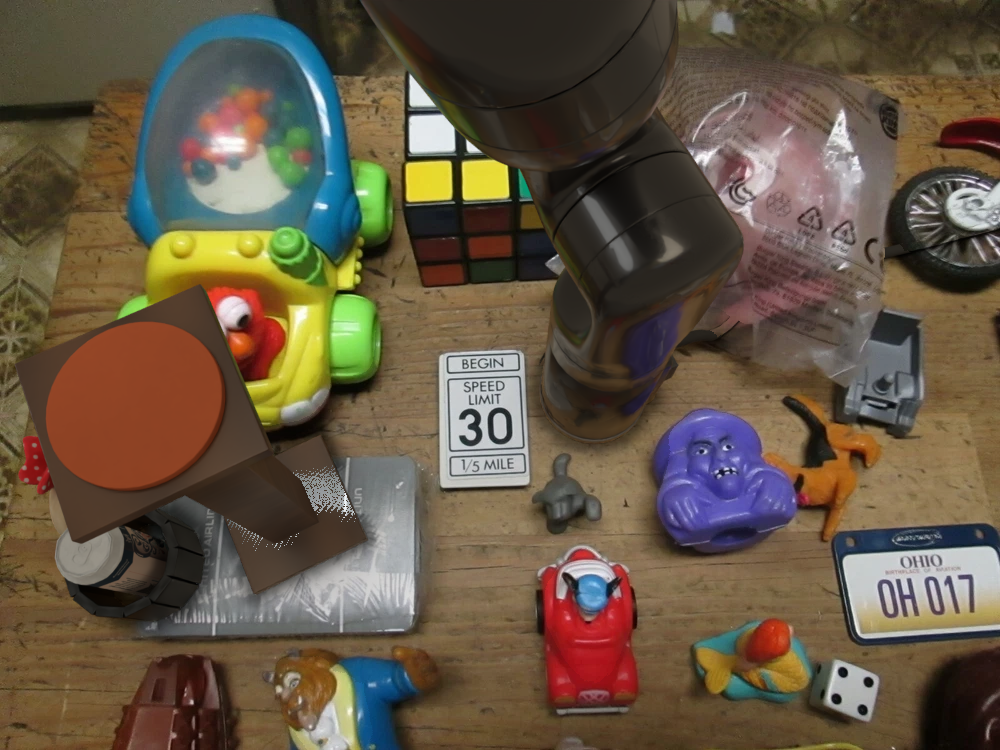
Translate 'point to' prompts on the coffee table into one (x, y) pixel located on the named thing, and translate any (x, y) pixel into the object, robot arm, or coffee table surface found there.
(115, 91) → the coffee table surface
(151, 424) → the disc
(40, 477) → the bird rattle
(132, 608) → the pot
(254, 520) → the stand
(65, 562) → the beer can
